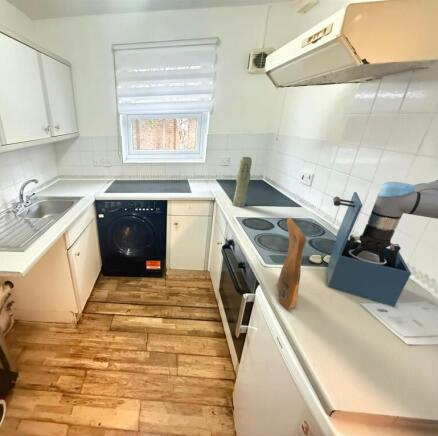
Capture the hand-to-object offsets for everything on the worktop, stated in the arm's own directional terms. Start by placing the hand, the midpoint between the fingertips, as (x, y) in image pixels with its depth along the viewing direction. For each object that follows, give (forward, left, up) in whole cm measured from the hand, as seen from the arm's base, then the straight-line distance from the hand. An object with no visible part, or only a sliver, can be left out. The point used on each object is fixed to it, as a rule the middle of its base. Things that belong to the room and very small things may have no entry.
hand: (358, 279), depth 92 cm
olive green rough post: (+63, -68, -2) cm, 93 cm away
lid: (+9, 0, +22) cm, 23 cm away
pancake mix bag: (+23, +24, -2) cm, 33 cm away
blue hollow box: (0, 0, -2) cm, 2 cm away
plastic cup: (0, 0, -1) cm, 1 cm away
